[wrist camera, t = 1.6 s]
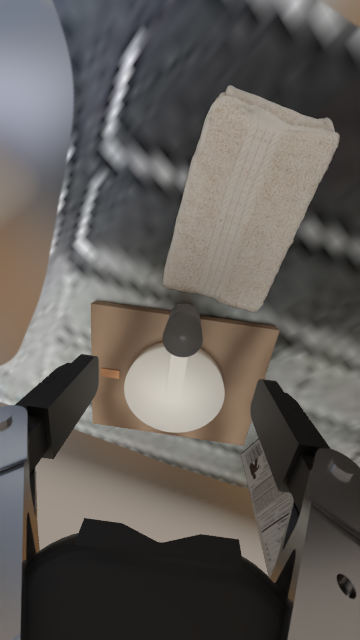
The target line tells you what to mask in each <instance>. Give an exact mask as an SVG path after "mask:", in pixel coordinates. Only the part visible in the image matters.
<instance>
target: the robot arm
mask: <svg viewBox="0 0 360 640" xmlns="http://www.w3.org/2000/svg"><path fill="white" fill-rule="evenodd" d="M98 385H99V359H98V357H97V356H92V355H84V354H81V355H80V356H78V357H77V358H76V359H75V360H74V361H73V362H72V363H66V364H64V365H62V366H60V367H58V368H56V369H55V370H54V371H53V372H52V373H51V374H50V375H49V377H48V376H47V377H46V378H45V379H44V380H43V381H42V383H39V384H38V385H37V386H36V387H35V388H34V389H33V390H31V391H30V392H29V393H28V394H27V395H26V396H25V397H23V398H22V399H21V400H20V401H19V402H18V403H17V404H15V405H10V406H4V407H0V640H360V467H359V466H358V465H357V464H356V463H354V462H353V461H352V460H351V459H349V458H348V457H347V456H345V455H343V454H342V453H340V452H338V451H335V450H333V449H330V447H329V446H328V444H327V443H326V442H325V440H324V439H323V437H322V436H321V435H320V433H319V432H318V430H317V429H316V428H315V426H314V425H313V423H312V422H311V421H310V420H309V418H308V416H307V415H306V414H305V412H303V409H302V408H301V407H300V405H299V404H298V402H297V401H296V400H295V399H293V398H292V397H291V396H290V395H289V394H287V393H284V392H283V390H282V389H281V387H280V386H279V384H278V383H277V382H276V381H271V380H264V379H259V380H258V382H257V385H256V389H255V392H254V395H253V399H252V402H251V406H250V414H251V418H252V421H253V424H254V426H255V429H256V432H257V435H258V437H259V440H260V443H261V445H262V448H263V451H264V454H265V456H266V459H267V462H268V464H269V467H270V470H271V472H272V475H273V478H274V481H275V483H276V486H277V489H278V491H280V492H287V493H291V495H292V497H293V499H294V500H293V502H292V504H291V508H290V511H289V515H288V519H287V523H286V527H285V531H284V535H283V538H282V542H281V546H280V550H279V554H278V557H277V560H276V563H275V566H274V569H273V571H272V574H271V577H270V578H269V577H268V576H267V575H266V574H265V573H264V572H263V571H262V570H261V569H259V568H258V567H257V566H256V565H255V564H253V563H251V562H250V561H249V560H247V559H246V558H244V557H242V556H241V551H240V544H239V540H238V539H231V538H223V537H216V536H209V535H202V534H201V535H196V536H191V537H187V538H182V539H178V540H173V541H169V542H164V543H159V542H156V541H155V540H153V539H151V538H149V537H147V536H145V535H143V534H141V533H139V532H138V531H136V530H134V529H132V528H130V527H128V526H126V525H124V524H122V523H115V522H108V521H101V520H94V519H86V518H84V521H83V523H82V526H81V529H80V531H79V533H78V534H73V535H70V536H67V537H64V538H62V539H60V540H58V541H56V542H54V543H51V544H50V545H48V546H46V547H45V548H43V549H42V550H40V548H39V536H38V523H37V492H36V468H35V466H36V465H37V464H38V462H39V461H40V459H41V458H49V459H54V457H55V456H56V454H57V453H58V451H59V450H60V448H61V447H62V445H63V444H64V442H65V441H66V439H67V438H68V436H69V435H70V433H71V431H72V430H73V428H74V427H75V425H76V424H77V422H78V421H79V419H80V418H81V416H82V415H83V413H84V412H85V410H86V409H87V407H88V406H89V404H90V403H91V401H92V400H93V398H94V396H95V395H96V393H97V390H98Z"/></svg>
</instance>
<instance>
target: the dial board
mask: <svg viewBox="0 0 360 640" xmlns="http://www.w3.org/2000/svg"><path fill="white" fill-rule="evenodd" d="M170 313H171V311H166V310H159V309H152V308H145V307H138V306H130V305H123V304H116V303H109V302H102V301H95V302H93V303H91V345H92V356H97V357H98V359H99V385H98V390H97V393H96V395H95V396H94V398H93V400H92V409H93V423H95V424H102V425H108V426H115V427H122V428H129V429H135V430H142V431H149V432H155V433H162V434H169V435H176V436H182V437H189V438H196V439H203V440H209V441H216V442H223V443H229V444H236V445H244V442H245V439H246V436H247V433H248V429H249V426H250V423H251V420H252V418H251V414H250V406H251V402H252V399H253V395H254V392H255V389H256V385H257V382H258V380H259V379H265V375H266V372H267V369H268V366H269V363H270V359H271V356H272V353H273V350H274V347H275V343H276V340H277V337H278V334H279V331H280V330H279V329H278V328H276V327H275V326H272V325H265V324H258V323H251V322H244V321H237V320H230V319H223V318H216V317H208V316H201V315H200V319H201V328H202V336H203V342H202V346H201V349H203V350H204V351H206V352H207V353H208V354H209V355H210V356H211V357H212V358H213V359H214V360H215V362H216V363H217V365H218V367H219V369H220V372H221V375H222V379H223V384H224V390H225V396H224V402H223V405H222V407H221V409H220V411H219V413H218V414H217V416H216V417H215V418H214V419H213V420H212V421H210V422H209V423H208V424H206V425H205V426H203V427H201V428H199V429H196V430H193V431H189V432H182V433H173V432H165V431H161V430H158V429H155V428H153V427H150V426H149V425H147V424H145V423H144V422H142V421H141V420H140V419H139V418H138V417H136V415H135V414H134V413H133V412H132V411H131V409H130V408H129V406H128V404H127V401H126V398H125V394H124V383H125V379H126V376H127V373H128V371H129V369H130V367H131V366H132V364H133V362H134V360H135V359H136V357H137V356H138V355H139V354H140V353H141V352H142V351H144V350H145V349H147V348H148V347H150V346H152V345H154V344H157V343H161V342H163V340H162V336H163V332H164V330H165V327H166V324H167V321H168V318H169V315H170Z"/></svg>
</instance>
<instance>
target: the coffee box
mask: <svg viewBox="0 0 360 640" xmlns="http://www.w3.org/2000/svg"><path fill="white" fill-rule="evenodd" d="M241 457H242V462H243V466H244V470H245V475H246V479H247V483H248V488H249V492H250V496H251V501H252V505H253V510H254V514H255V518H256V523H257V527H258V532H259V536H260V540H261V545H262V550H263V554H264V558H265V563H266V567H267V572H268V575H269V578H270V577H271V574H272V571H273V569H274V566H275V563H276V560H277V557H278V554H279V550H280V546H281V542H282V538H283V535H284V531H285V527H286V523H287V519H288V515H289V511H290V508H291V504H292V502H293V500H294V499H293V497H292V495H291V493H287V492H280V491H278V489H277V486H276V483H275V481H274V478H273V475H272V472H271V470H270V467H269V464H268V462H267V459H266V456H265V454H264V451H263V448H262V445H261V443H260V440H259V439H258V440H257V441H256V442H255V443H254V444H253V445H251V446H250V447H249V448H248V449H247V450H246V451H245V452H243V453H242V454H241Z"/></svg>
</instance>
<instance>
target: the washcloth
mask: <svg viewBox="0 0 360 640" xmlns="http://www.w3.org/2000/svg"><path fill="white" fill-rule="evenodd" d="M339 137H340V136H339V134H338V133H336V132H335V130H334V127H333V123H332V122H331V120H330V119H329V118H327V117H326V118H325V119H323V118H322V119H315V118H312V117H308V116H304V115H302V114H299V113H298V112H295V111H293V110H291V109H288V108H285V107H283V106H280V105H278V104H275V103H272V102H270V101H268V100H266V99H263V98H262V97H259V96H256V95H254V94H250V93H248V92H244V91H242V90H239V89H236V88H235V87H233V86H228V87H227V89H226V92H225V93H221V94H220V95H219V97H218V98H217V99H216V100H215V102H214V103H213V104H212V106H211V108H210V110H209V112H208V114H207V116H206V119H205V122H204V125H203V129H202V132H201V136H200V140H199V142H198V144H197V148H196V151H195V154H194V156H193V158H192V161H191V164H190V169H189V173H188V177H187V180H186V185H185V189H184V193H183V198H182V202H181V205H180V209H179V212H178V216H177V218H176V223H175V229H174V234H173V238H172V242H171V246H170V249H169V253H168V256H167V260H166V265H165V269H164V277H163V282H162V286H166V287H167V288H169V289H173V290H178V291H183V292H190V293H198V294H201V295H204V296H208V297H212V298H214V299H216V301H217V302H221V303H224V304H227V305H230V306H232V307H237V308H242V309H244V310H248V311H250V312H256V311H258V310H259V309H260V307H262V306H263V301H264V300H265V298H266V296H267V294H268V292H269V288H270V287H271V285H272V284H273V282H274V278H275V275H276V274H277V273H278V271H279V267H280V266H281V263H282V261H283V259H284V258H285V256H286V253H287V250H288V248H289V247H290V245H291V244H292V243H293V242H294V241H293V238H294V237H295V234H296V231H297V229H298V228H299V226H300V223H301V221H302V220H303V219H304V216H305V213H306V210H307V207H308V205H309V204H310V202H311V200H312V199H313V196H314V194H315V192H316V189H317V187H318V184H319V182H321V180H322V177H323V175H324V173H325V171H326V170H327V169H328V165H329V163H330V162H331V160H332V156H333V154H334V153H335V150H336V148H337V147H338V145H337V144H338V143H339Z"/></svg>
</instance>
